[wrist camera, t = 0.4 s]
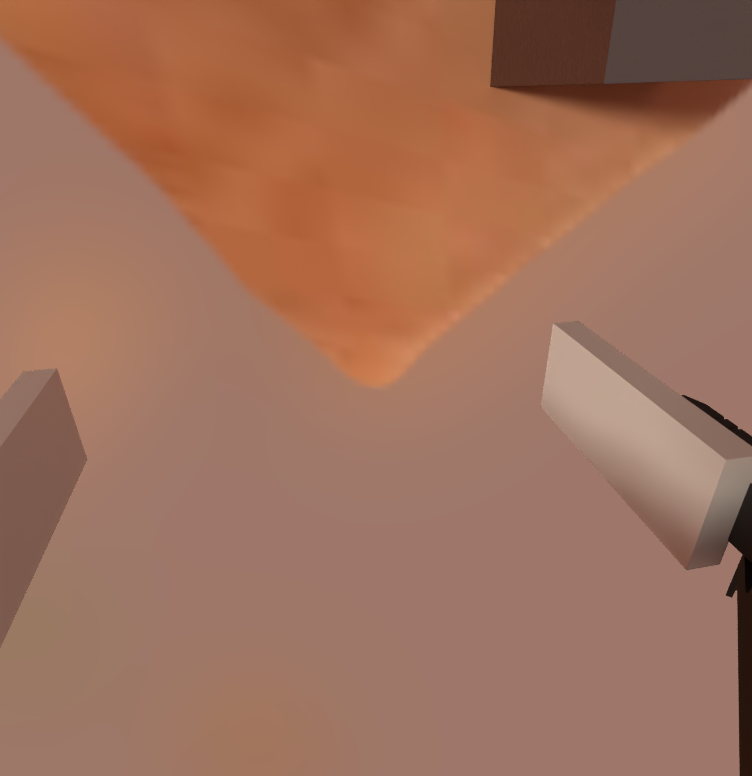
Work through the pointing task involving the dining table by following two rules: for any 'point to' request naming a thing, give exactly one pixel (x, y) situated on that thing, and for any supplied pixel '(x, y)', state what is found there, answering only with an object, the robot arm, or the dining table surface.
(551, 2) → the box
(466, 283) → the dining table surface
